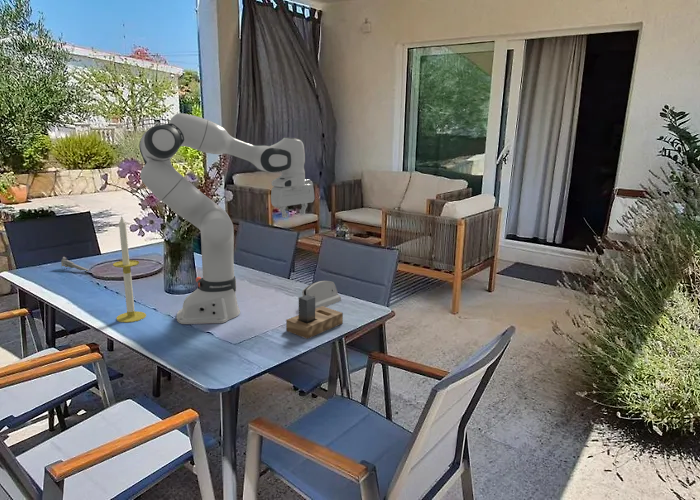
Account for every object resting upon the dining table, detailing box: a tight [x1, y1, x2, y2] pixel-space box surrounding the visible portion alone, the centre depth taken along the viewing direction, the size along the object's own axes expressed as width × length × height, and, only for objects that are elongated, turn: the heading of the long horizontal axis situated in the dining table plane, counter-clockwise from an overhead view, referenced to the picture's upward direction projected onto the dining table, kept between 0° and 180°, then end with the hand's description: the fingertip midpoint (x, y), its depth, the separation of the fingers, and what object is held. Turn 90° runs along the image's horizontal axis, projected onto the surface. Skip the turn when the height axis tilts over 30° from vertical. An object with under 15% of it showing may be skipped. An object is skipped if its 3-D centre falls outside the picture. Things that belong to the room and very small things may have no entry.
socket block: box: [285, 306, 344, 340], centre depth 170 cm, size 18×10×4 cm, turn 140°
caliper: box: [60, 256, 90, 271], centre depth 228 cm, size 20×1×6 cm, turn 68°
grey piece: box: [301, 280, 342, 309], centre depth 192 cm, size 17×5×10 cm, turn 139°
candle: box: [112, 215, 147, 324], centre depth 171 cm, size 10×10×38 cm
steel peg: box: [298, 295, 315, 324], centre depth 166 cm, size 4×4×12 cm
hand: (293, 216), depth 190 cm, fingers open, 8 cm apart
